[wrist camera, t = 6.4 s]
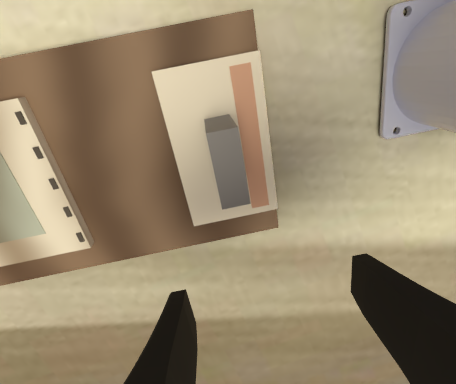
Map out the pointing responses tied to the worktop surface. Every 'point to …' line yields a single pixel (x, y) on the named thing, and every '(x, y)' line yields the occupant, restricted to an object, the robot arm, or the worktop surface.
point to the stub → (220, 135)
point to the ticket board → (102, 150)
